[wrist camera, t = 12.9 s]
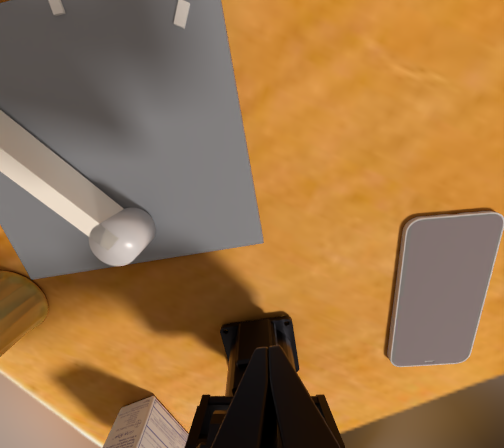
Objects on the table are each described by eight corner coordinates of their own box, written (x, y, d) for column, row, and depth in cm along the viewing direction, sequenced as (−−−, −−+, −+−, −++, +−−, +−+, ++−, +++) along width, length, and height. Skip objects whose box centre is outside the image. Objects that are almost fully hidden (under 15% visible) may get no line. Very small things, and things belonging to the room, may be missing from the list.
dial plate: (263, 237, 20) (263, 243, 19) (41, 273, 21) (29, 280, 20) (214, -39, 14) (210, -53, 13) (-89, 33, 15) (-115, 26, 14)
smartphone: (509, 210, 19) (469, 363, 24) (497, 207, 19) (461, 354, 24) (406, 219, 19) (388, 367, 24) (400, 215, 20) (384, 359, 25)
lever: (164, 227, 18) (147, 244, 15) (140, 253, 19) (120, 274, 16) (-17, 79, 15) (-79, 67, 12) (-37, 118, 16) (-100, 115, 13)
